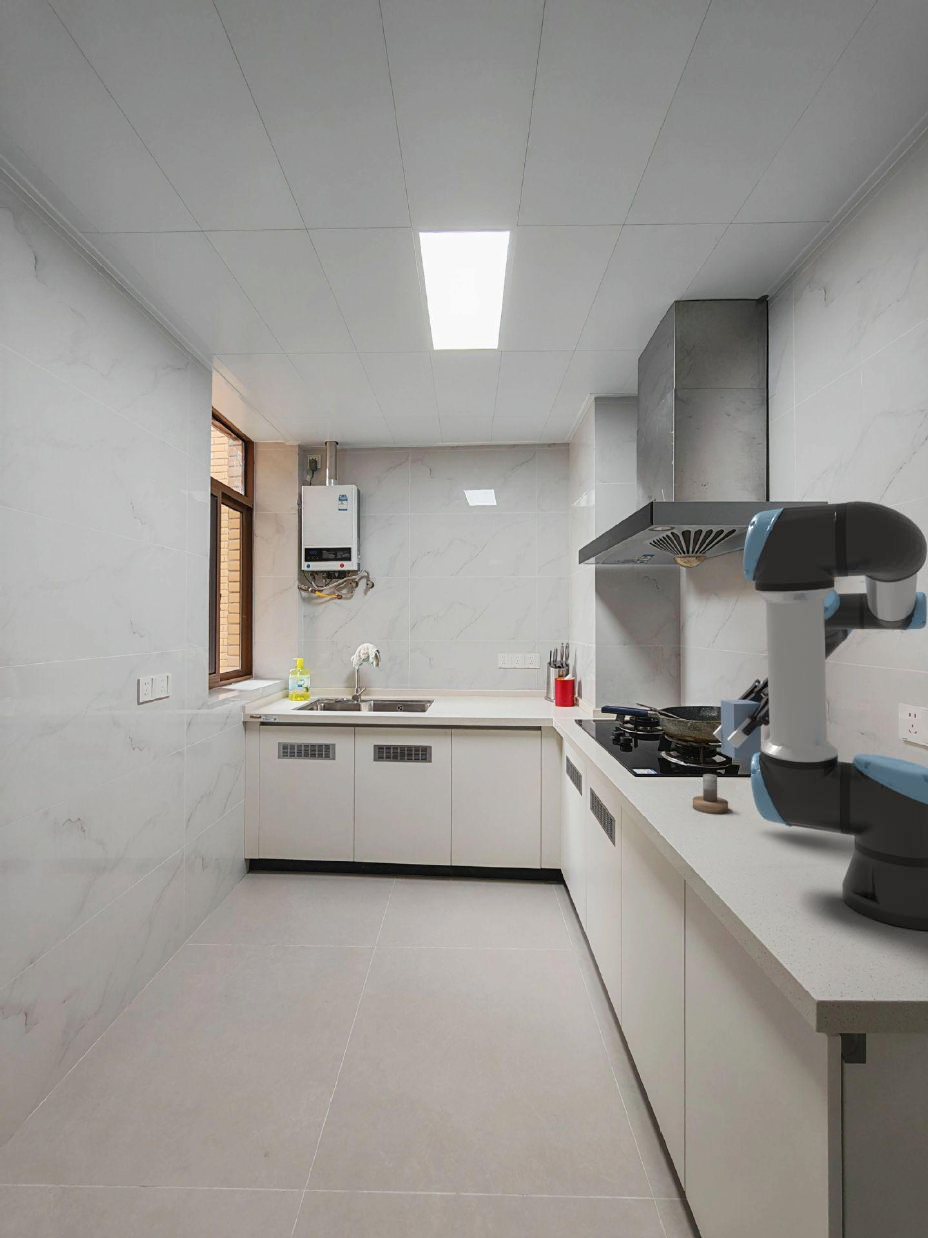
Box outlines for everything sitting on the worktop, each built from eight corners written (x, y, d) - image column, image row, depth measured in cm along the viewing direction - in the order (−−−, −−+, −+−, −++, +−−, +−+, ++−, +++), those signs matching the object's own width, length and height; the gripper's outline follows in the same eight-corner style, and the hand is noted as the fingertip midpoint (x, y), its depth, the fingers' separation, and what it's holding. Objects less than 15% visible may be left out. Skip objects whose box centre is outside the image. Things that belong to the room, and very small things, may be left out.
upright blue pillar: (761, 758, 136) (760, 703, 136) (734, 759, 135) (733, 704, 135) (747, 752, 142) (746, 699, 142) (721, 753, 141) (720, 700, 141)
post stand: (727, 815, 146) (727, 781, 146) (691, 811, 149) (690, 777, 149) (729, 806, 153) (728, 773, 153) (694, 802, 156) (694, 770, 156)
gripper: (834, 682, 130) (759, 762, 129) (781, 674, 149) (716, 743, 148) (809, 657, 130) (734, 737, 129) (760, 652, 149) (694, 722, 148)
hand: (724, 740), depth 138 cm, fingers closed on upright blue pillar, 6 cm apart
